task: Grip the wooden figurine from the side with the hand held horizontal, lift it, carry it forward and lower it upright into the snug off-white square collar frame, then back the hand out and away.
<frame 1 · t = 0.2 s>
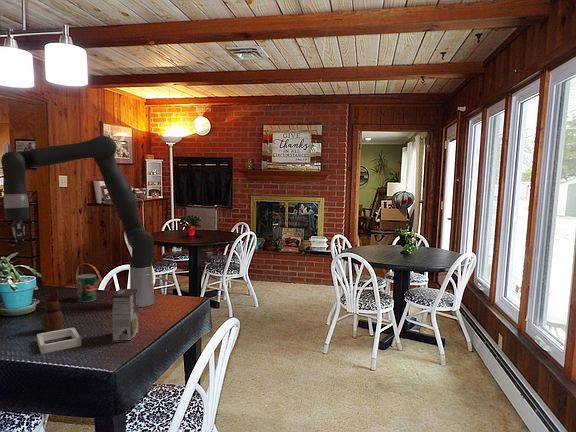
hand: (20, 249, 151), 28 cm above the table, tool pointing down, fingers open, 8 cm apart
wooden figurine: (53, 331, 147), on the table
coffee box: (125, 337, 143), on the table
collar frame: (58, 343, 136), on the table
canned tomato: (87, 299, 186), on the table
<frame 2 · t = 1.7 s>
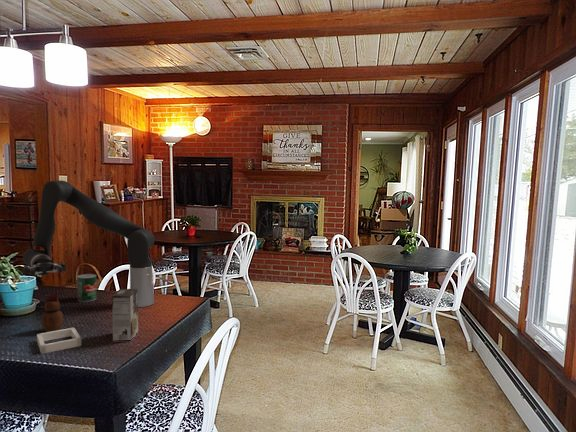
hand: (47, 271, 154), 20 cm above the table, tool horizontal, fingers open, 8 cm apart
nothing on the table moved.
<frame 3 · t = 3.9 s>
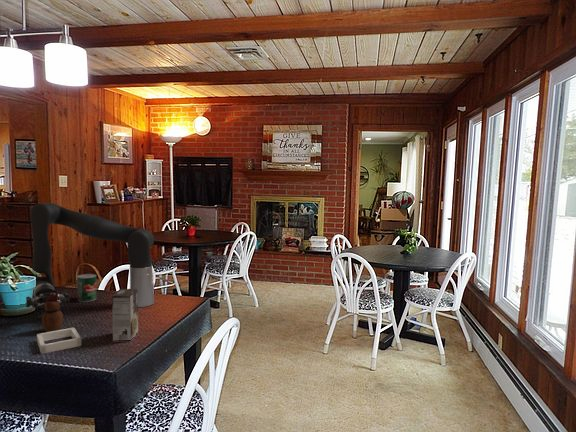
hand: (50, 304, 151), 9 cm above the table, tool horizontal, fingers open, 8 cm apart
nothing on the table moved.
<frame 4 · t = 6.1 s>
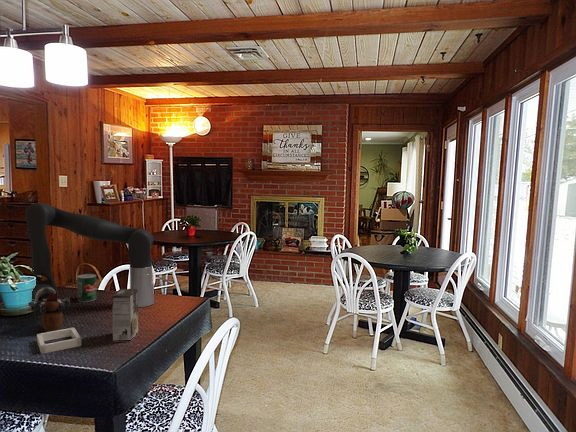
hand: (53, 309, 144), 9 cm above the table, tool horizontal, fingers closed on wooden figurine, 4 cm apart
wooden figurine: (53, 331, 147), on the table, touching gripper
everything else where it was.
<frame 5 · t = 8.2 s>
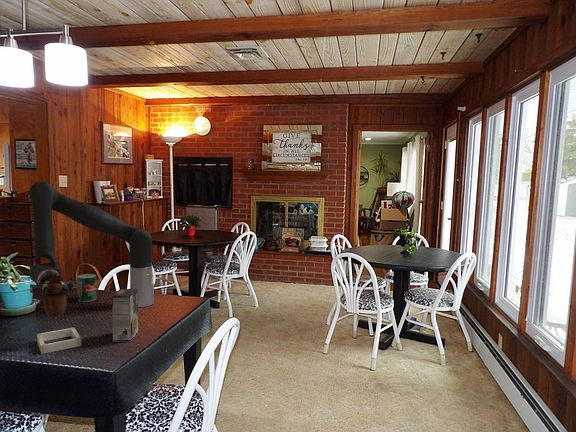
hand: (56, 292, 134), 18 cm above the table, tool horizontal, fingers closed on wooden figurine, 4 cm apart
wooden figurine: (55, 315, 137), point 9 cm above the table, touching gripper
everything else where it was.
when the fingers open (10 cm above the table, at t = 10.3 s): wooden figurine drops 1 cm, resting in collar frame.
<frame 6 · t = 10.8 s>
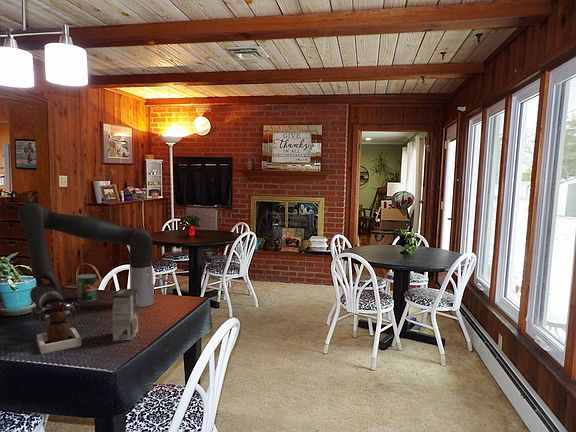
hand: (58, 316, 134), 10 cm above the table, tool horizontal, fingers open, 8 cm apart
wooden figurine: (58, 343, 136), resting in collar frame
everything else where it was.
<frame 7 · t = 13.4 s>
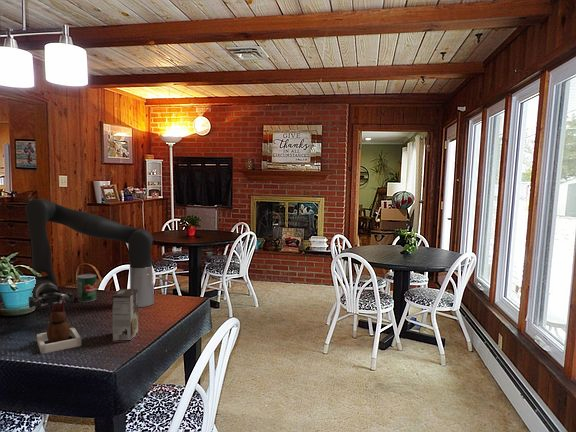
hand: (54, 304, 144), 10 cm above the table, tool horizontal, fingers open, 8 cm apart
nothing on the table moved.
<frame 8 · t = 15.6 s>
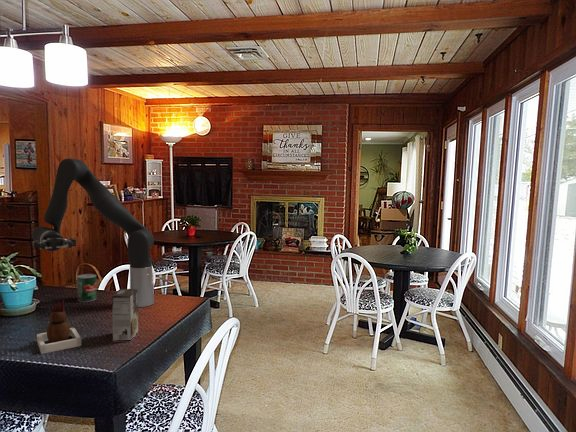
hand: (57, 246, 151), 30 cm above the table, tool horizontal, fingers open, 8 cm apart
nothing on the table moved.
at the end: wooden figurine 0.3 cm off-centre on the collar frame, point 0.0 cm above the collar frame's base; wooden figurine tilted 0°; the gripper is holding nothing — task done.
